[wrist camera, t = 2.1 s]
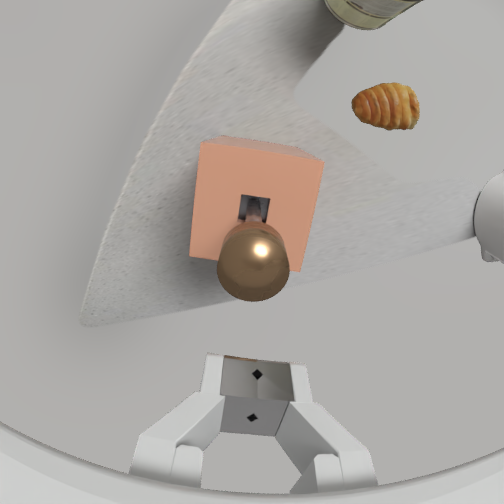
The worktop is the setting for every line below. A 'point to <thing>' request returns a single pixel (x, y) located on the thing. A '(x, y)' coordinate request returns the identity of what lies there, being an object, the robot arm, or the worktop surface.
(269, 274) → the plunger
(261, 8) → the worktop surface
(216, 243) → the block
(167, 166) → the worktop surface
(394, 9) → the coffee can
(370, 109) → the pastry
